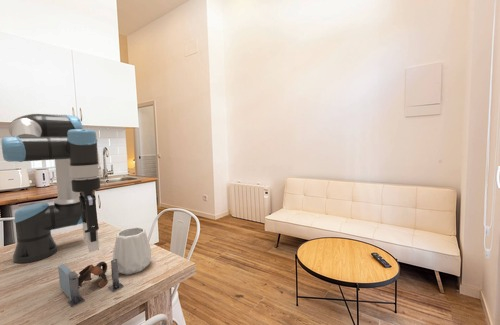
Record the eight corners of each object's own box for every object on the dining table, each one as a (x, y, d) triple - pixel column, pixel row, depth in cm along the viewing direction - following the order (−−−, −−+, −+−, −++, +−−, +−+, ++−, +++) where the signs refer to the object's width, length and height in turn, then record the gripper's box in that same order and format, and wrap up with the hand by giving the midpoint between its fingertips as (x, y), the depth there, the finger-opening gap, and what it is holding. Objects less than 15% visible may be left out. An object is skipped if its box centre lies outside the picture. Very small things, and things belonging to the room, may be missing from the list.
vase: (159, 261, 103) (157, 227, 101) (134, 279, 89) (131, 240, 88) (132, 257, 107) (130, 224, 106) (105, 274, 94) (102, 236, 92)
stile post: (108, 288, 84) (106, 261, 83) (119, 283, 87) (117, 257, 86) (113, 291, 82) (111, 264, 81) (123, 286, 85) (121, 259, 84)
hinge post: (67, 302, 77) (65, 279, 76) (80, 296, 80) (78, 274, 79) (71, 307, 75) (69, 283, 74) (84, 301, 78) (82, 277, 77)
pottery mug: (99, 294, 82) (82, 277, 80) (79, 303, 84) (63, 287, 82) (119, 267, 93) (105, 252, 91) (101, 276, 95) (87, 261, 93)
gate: (80, 300, 77) (77, 274, 77) (74, 302, 76) (71, 276, 75) (65, 285, 86) (63, 261, 85) (60, 287, 84) (57, 263, 84)
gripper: (106, 180, 71) (111, 253, 73) (93, 173, 87) (98, 233, 89) (75, 183, 66) (81, 261, 68) (68, 176, 82) (73, 238, 84)
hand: (91, 245), depth 78 cm, fingers open, 9 cm apart
